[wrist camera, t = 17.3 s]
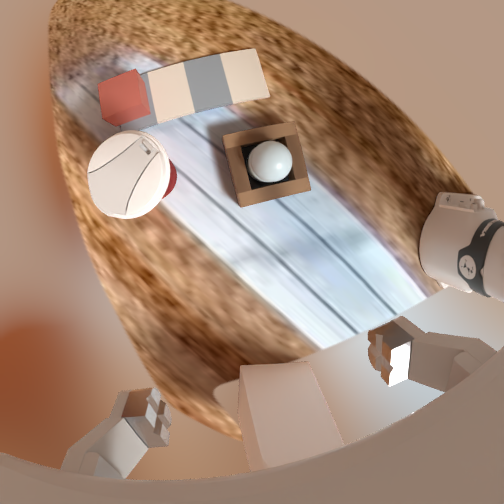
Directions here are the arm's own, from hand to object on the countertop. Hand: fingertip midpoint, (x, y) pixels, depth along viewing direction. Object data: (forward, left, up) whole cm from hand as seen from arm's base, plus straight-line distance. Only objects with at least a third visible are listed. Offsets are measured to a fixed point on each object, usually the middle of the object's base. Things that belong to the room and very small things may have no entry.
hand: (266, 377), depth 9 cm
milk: (0, +28, -28) cm, 40 cm away
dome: (-7, -8, -27) cm, 29 cm away
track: (0, -21, -28) cm, 35 cm away
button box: (-7, -8, -28) cm, 30 cm away
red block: (+8, -21, -27) cm, 35 cm away
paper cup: (+7, -10, -28) cm, 31 cm away
